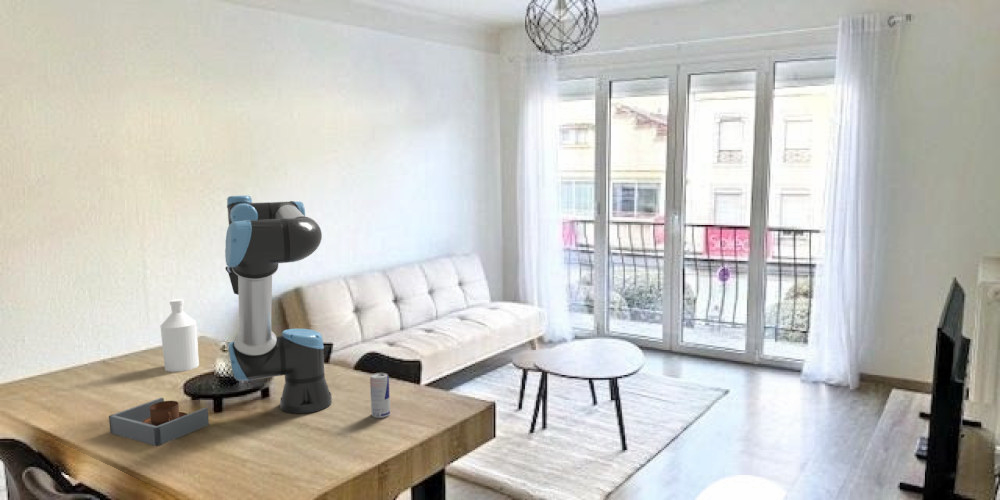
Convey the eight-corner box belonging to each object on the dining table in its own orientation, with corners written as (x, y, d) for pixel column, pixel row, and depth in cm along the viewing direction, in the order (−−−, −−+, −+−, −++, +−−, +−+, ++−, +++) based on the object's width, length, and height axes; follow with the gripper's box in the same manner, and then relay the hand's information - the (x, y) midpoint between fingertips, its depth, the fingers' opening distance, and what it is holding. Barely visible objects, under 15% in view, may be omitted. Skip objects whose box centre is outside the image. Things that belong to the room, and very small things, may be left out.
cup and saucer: (198, 422, 192) (196, 402, 191) (159, 437, 181) (157, 415, 181) (171, 415, 198) (170, 395, 197) (132, 429, 187) (130, 408, 186)
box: (208, 424, 189) (207, 407, 189) (157, 446, 175) (156, 428, 175) (162, 413, 198) (161, 397, 198) (110, 433, 184) (108, 415, 184)
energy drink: (393, 412, 197) (391, 373, 195) (385, 419, 192) (383, 378, 190) (376, 410, 198) (375, 371, 197) (368, 417, 193) (366, 377, 191)
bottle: (157, 368, 243) (151, 301, 240) (187, 360, 253) (182, 295, 250) (175, 373, 237) (170, 304, 233) (206, 365, 246) (201, 299, 243)
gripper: (249, 240, 224) (254, 309, 227) (217, 244, 213) (222, 317, 216) (266, 241, 221) (270, 311, 224) (234, 245, 209) (239, 319, 212)
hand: (246, 314), depth 220 cm, fingers closed
